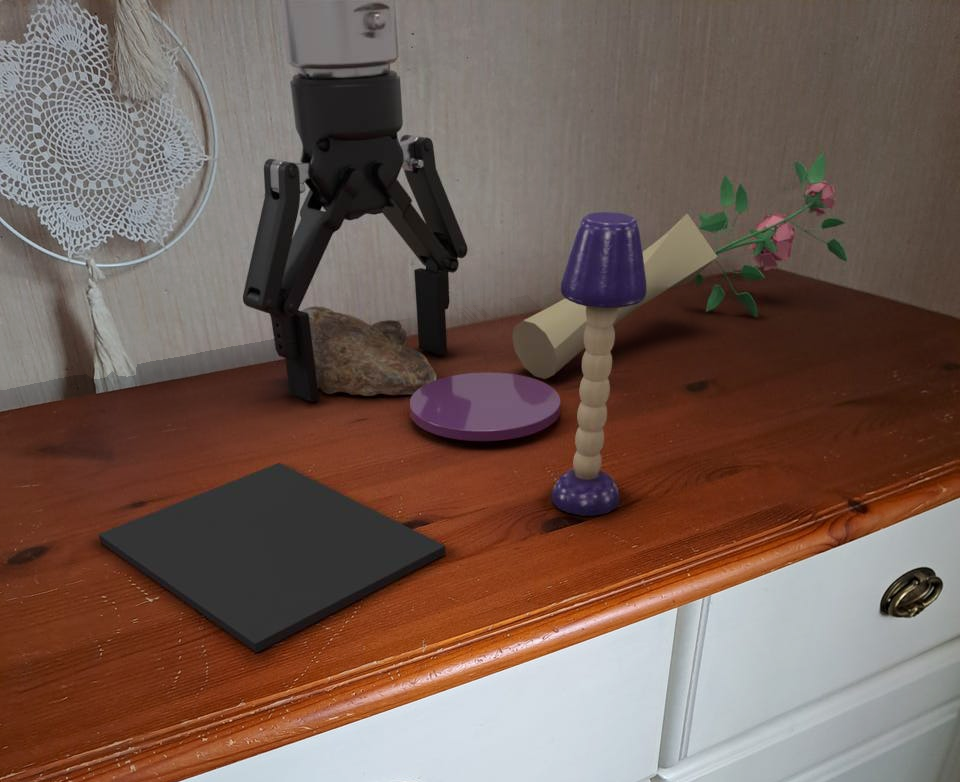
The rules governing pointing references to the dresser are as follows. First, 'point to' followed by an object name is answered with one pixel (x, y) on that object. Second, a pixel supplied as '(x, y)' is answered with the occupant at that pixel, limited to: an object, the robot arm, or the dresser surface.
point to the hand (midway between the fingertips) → (371, 373)
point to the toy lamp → (598, 346)
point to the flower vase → (679, 270)
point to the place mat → (270, 552)
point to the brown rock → (364, 356)
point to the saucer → (485, 406)
